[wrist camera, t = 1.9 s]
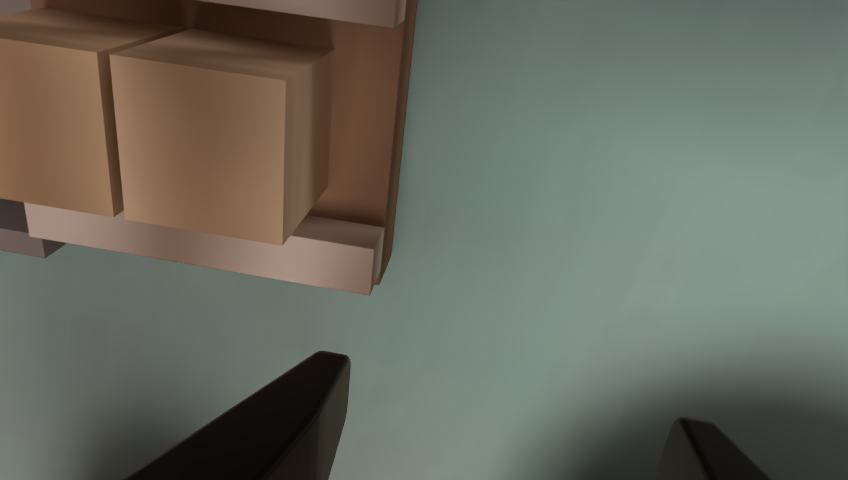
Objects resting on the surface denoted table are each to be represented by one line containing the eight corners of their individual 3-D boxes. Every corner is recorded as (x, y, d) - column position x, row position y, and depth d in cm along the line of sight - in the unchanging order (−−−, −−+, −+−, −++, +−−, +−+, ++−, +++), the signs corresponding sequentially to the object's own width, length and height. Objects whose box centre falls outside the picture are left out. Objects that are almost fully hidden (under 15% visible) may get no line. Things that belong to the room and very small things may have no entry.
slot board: (424, -66, 18) (401, -64, 15) (390, 256, 23) (368, 310, 19) (62, -113, 19) (-30, -120, 16) (98, 207, 23) (32, 251, 20)
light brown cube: (181, 27, 18) (97, 52, 15) (188, 164, 20) (113, 217, 16) (44, 7, 19) (-72, 27, 15) (62, 144, 20) (-38, 191, 17)
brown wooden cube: (334, 49, 18) (286, 80, 14) (327, 187, 20) (282, 246, 16) (192, 28, 18) (109, 54, 15) (197, 166, 20) (124, 219, 16)
